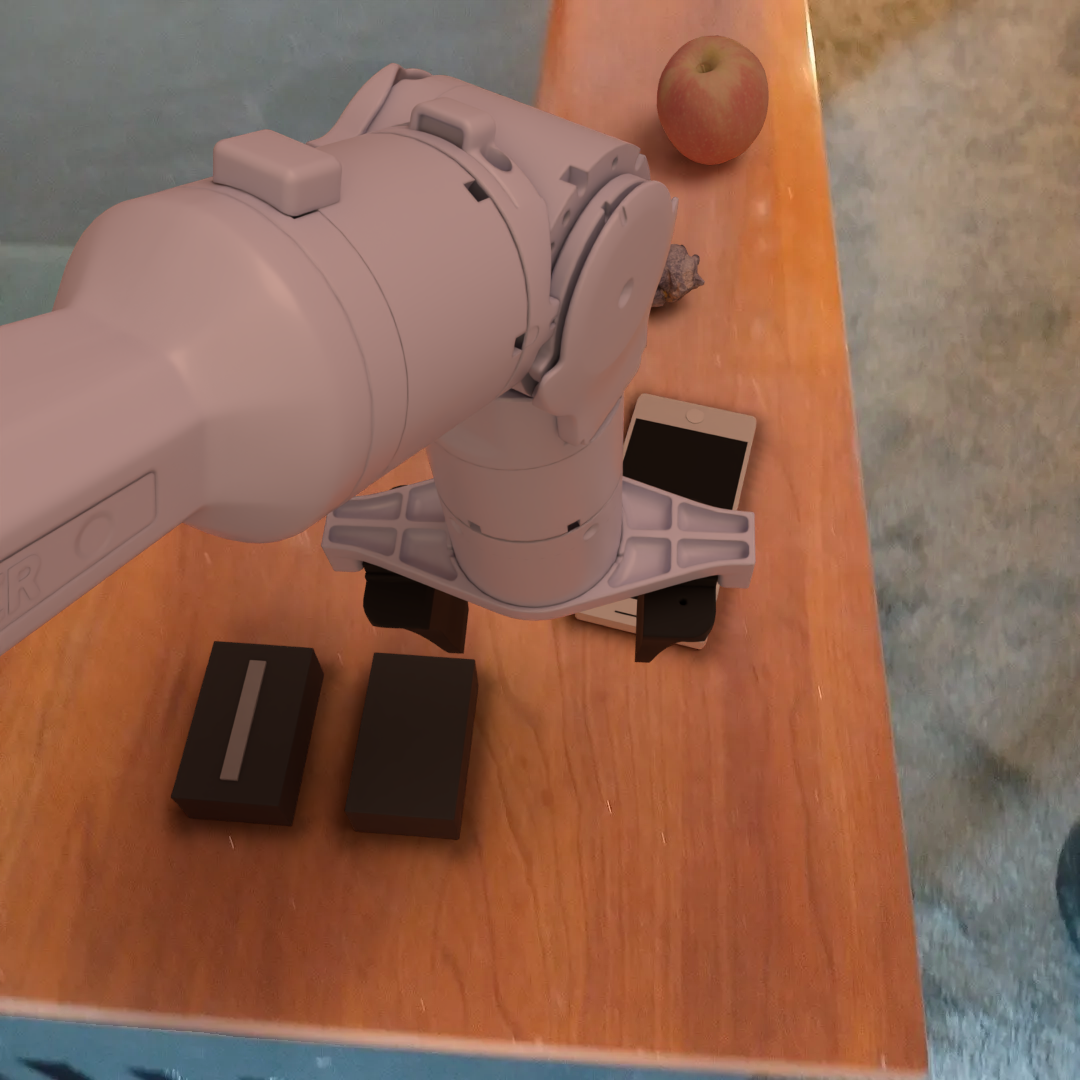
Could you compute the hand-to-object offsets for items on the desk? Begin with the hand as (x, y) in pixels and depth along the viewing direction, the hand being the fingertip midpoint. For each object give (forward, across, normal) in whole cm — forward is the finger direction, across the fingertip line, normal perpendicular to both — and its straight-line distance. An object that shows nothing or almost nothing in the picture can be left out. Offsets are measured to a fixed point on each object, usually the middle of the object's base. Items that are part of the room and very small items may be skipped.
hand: (550, 635), depth 44 cm
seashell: (+14, -2, -30) cm, 33 cm away
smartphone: (+12, -5, -12) cm, 18 cm away
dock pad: (+10, +15, +2) cm, 18 cm away
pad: (+10, +7, +2) cm, 13 cm away
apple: (+15, -7, -44) cm, 47 cm away
